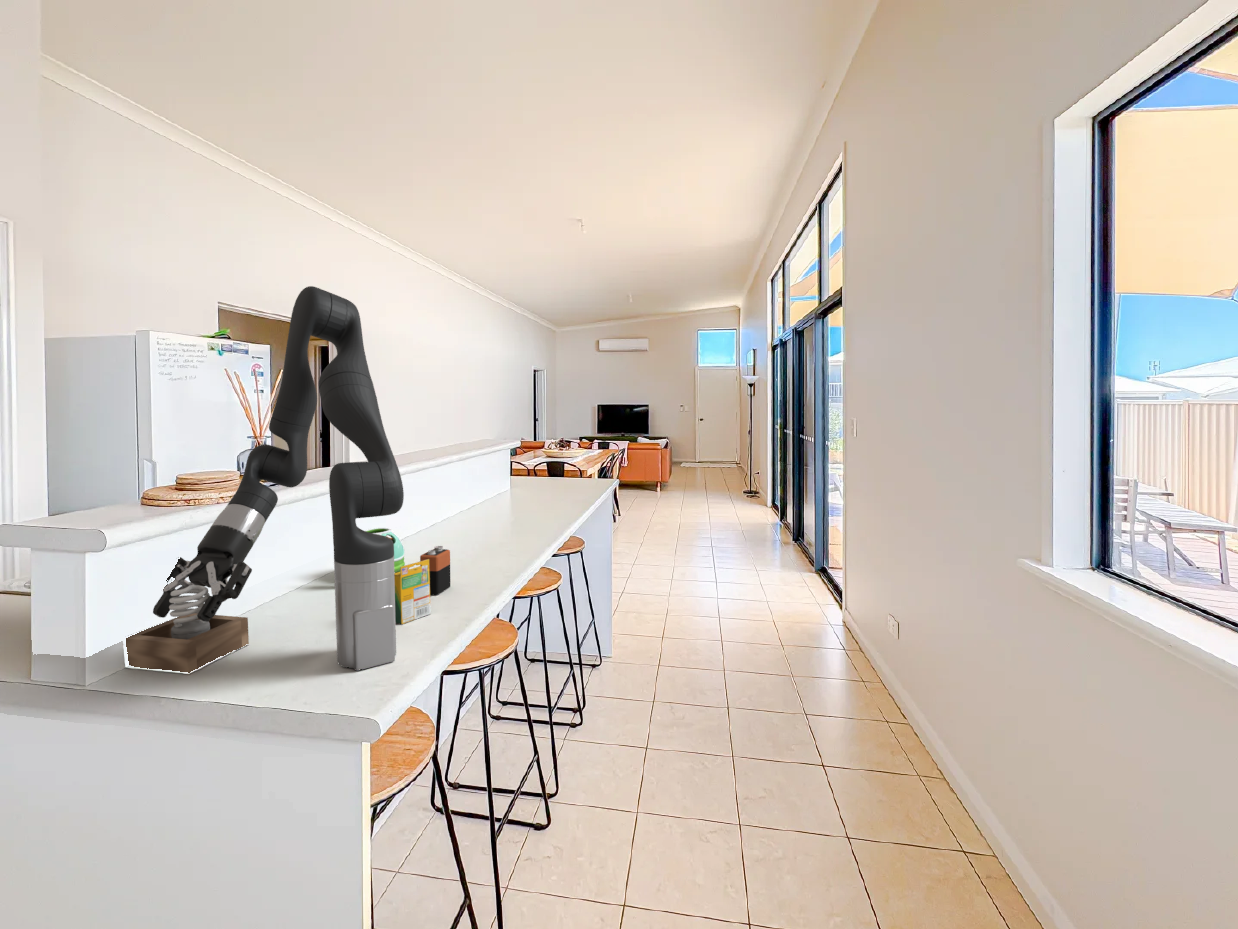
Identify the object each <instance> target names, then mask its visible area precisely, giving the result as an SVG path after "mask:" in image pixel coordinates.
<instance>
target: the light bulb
mask: <svg viewBox="0 0 1238 929" xmlns="http://www.w3.org/2000/svg"><path fill="white" fill-rule="evenodd" d="M185 594H187V595H185ZM188 594H190V595H188ZM191 594H192V595H191ZM177 595H180V596H177ZM171 596H177V597H173V598H171V599H170V600H169V602H170V603H174V604H172V605H170V606H169V609H170V611H169V615H170V617H174V618H176V617H179V616H186V615H190V614H194V613H197V615H198V613H199V611H200V610H201V608H202V606H203V605H204V603H205V601H206V600H207V598H208V597H209V596H211V595H210V593H209V587H207V586H200V585H190V586H188V587H187V588H184V589H181V590H177V589H176V590H174V591H172V592H171ZM194 607H195V608H194ZM197 615H194V616H190V617H186V618H180V619H175V620H174V621H173V622H174V624H175V625H174V626H173V627H172V628H171V636H172V638H175V639H186V640H188V639H190V638H192V637H195V636H197V635H199V634H202V633H204V632H206V631H209V630H210V623H209V621H208V622H206V621H202V620H195V619H198V617H197Z"/></svg>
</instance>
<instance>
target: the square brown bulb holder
mask: <svg viewBox="0 0 1238 929" xmlns="http://www.w3.org/2000/svg"><path fill="white" fill-rule="evenodd" d="M194 615H197V613H194V614H190V615H186V616H179V617H177V618H176V617H174V618H171V619H169V621H168V620H166V621H164V623H163V622H161V623H162V624H161V623H158V624H159V625H158V624H156V626H155V625H153V626H154V627H153V626H150V627H151V628H150V627H147V628H148V629H147V628H145V629H146V630H145V629H143V630H144V631H142V630H140V631H141V632H140V631H138V632H139V633H137V632H136V633H137V634H135V635H132V634H131V635H132V636H130V637H128V638H126V647H127V652H128V653H127V654H128V661H129V665H131V666H134V667H140V668H147V669H148V668H149V669H162V670H172V671H180V672H188V673H190V672H191V671H193V670H195V669H198V668H199V667H201V666H203V665H205V664H206V663H208V662H211V661H213V660H215V659H216V658H218V657H220V656H224V655H226V654H227V653H229V652H232V651H233V650H237V649H239V648H241V647H243V646H245V645H246V644H249V645H250V642H249V640H250V639H249V638H250V636H249V619H248V617H247V616H246V617H245V616H234V615H222V614H221V615H219V614H215V615H214V617H212V618H211V619H210V621H209V623H210V630H209V631H206V632H204V633H202V634H199V635H197V636H195V637H192V638H190V639H188V640H186V639H175V638H172V636H171V628H172V627H173V626H174V625H175V624H174V622H173V621H174V620H175V619H180V618H186V617H190V616H194ZM195 620H201V619H199V618H198V619H195Z"/></svg>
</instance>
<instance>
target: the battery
mask: <svg viewBox="0 0 1238 929" xmlns="http://www.w3.org/2000/svg"><path fill="white" fill-rule="evenodd" d="M427 559H429V575H430V596H438V595H440V594H441V593H443V592H445V591H446V590H448V589H449V588H451V550H449V549H446V548H445V549H444V546H443V545H437V546H436V545H435V546H434V547H433V549H431V550H428V551H427V552H425V553H423V554H421V555H420V556H419V562H420V561H424V560H427ZM419 566H421V565H419ZM444 590H445V591H444Z"/></svg>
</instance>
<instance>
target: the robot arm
mask: <svg viewBox="0 0 1238 929" xmlns="http://www.w3.org/2000/svg"><path fill="white" fill-rule="evenodd" d="M291 312H292V313H291V316H290V321H289V329H288V334H287V335H288V336H287V342H286V348H285V353H284V354H285V356H284V362H283V363H284V364H283V371H282V375H281V376H282V377H281V382H280V386H279V390H278V395H277V398H276V401H275V404H274V408H273V410H272V413H271V416H270V421H269V425H268V429H269V431H270V433H272V434H273V435H275V436H277V437H278V438H280V439H282V440H283V441H285V443H286V444H287V447H288V449H283V448H281V447H277V446H275V445H271V444H265V443H264V444H260V445H257V446H256V447H254V448H252V450H251V451H250V452H249V453H248V457H247V460H246V463H245V466H244V467H245V468H244V471H243V474H242V476H241V477H242V478H241V481H240V483H239V486H238V487H237V490H236V492H235V493H234V494H233V496H232V498H231V499H230V500H229V502H228V503H227V505H226V506H225V508H224V509H223V510H222V511H221V512H220V513H219V514H218V516H217V517H216V519H215V520H214V521H213V523H212V525H211V526H210V527H209V529H208V531H206V533H205V535H204V536H203V538H202V539H201V541H200V542H199V543H198V545H197V548H196V549H197V553H196V556H195V557H194V558H192V560H185V558H183V557H181V556H180V559H178V562H177V564H176V565H175V568H174V569H173V570H172V572H171V574H170V576H169V577H168V578H167V580H168V581H167V580H166V581H167V585H166V586H165V587H164V589H163V591H162V592H163V593H162V595H161V596H160V597H159V599H158V601H156V603H155V605H154V607H153V609H152V614H154V615H155V616H156V617H157V618H163V619H164V618H166V617H167V616H168V614H170V612H171V610H170V609H169V606H170V605H172V604H175V603H170V602H169V600H170V599H171V598H173V597H177V596H181V595H177V596H171V592H172V591H174V590H181V589H184V588H187V587H188V586H190V585H200V586H204V587H206V588H208V589H210V590H211V591H210V592H211V595H210V596H209V597H208V598H207V600H206V601H205V602H204V605H203V606H202V608H201V610H200V611H199V613H198V615H197V617H198V618H199V619H201V620H202V621H206V622H208V621H210V619H211V618H212V617H214V615H217V611H218V610H219V609H220V607H221V606H222V603H224V602H226V601H227V600H229V599H232V600H236V599H237V598H239V596H240V595H241V592H242V591H243V589H244V587H245V585H246V583H247V581H248V579H249V577H250V575H251V574H252V572H253V569H252V568H251V567H250V565H248V564H247V563H245V559H246V558H247V557H248V554H249V553H250V551H252V550H251V549H252V548H253V546H254V545H255V543H256V542H257V540H258V539H259V536H260V535H261V533H262V531H263V529H264V525H265V524H266V522H267V520H268V518H269V517H270V515H271V514H272V513H273V511H274V509H275V508H276V506H277V504H278V500H279V496H278V495H277V493H276V492H275V491H274V490H273V489H271V487H269V486H267V485H265V484H263V483H262V482H261V481H265V482H269V483H271V484H274V485H278V486H281V487H284V488H285V487H286V488H295V487H297V486H299V485H300V484H302V482H303V481H304V479H305V477H306V476H307V473H308V472H307V471H308V442H309V441H308V440H309V432H310V430H311V426H312V423H313V420H314V416H315V412H316V410H317V405H318V393H317V388H316V384H315V381H314V378H313V375H312V374H313V373H312V371H311V370H312V369H311V367H310V362H309V354H308V353H309V352H308V351H309V343H310V339H311V337H315V338H318V339H320V340H324V341H326V342H329V343H331V344H333V346H334V347H335V349H336V353H337V354H336V355H335V357H334V358H333V359H332V360H331V361H330V362H329V363H328V364H327V366H326V367H325V368H324V369H323V371H322V372H321V374H320V376H319V379H318V391H319V397H320V402H321V407H322V411H323V414H324V416H325V417H326V418H327V420H328V422H329V423H330V424H331V425H332V426H334V428H336V430H337V431H339V432H340V433H341V434H342V435H343V436H344V437H346V438H347V439H348V440H350V442H352V443H353V444H354V445H355V446H356V447H357V448H359V450H360V451H361V452H362V454H363V455H364V457H365V458H366V461H354V462H353V461H352V462H349V461H348V462H339V463H336V464H334V465H333V466H332V468H331V470H330V473H329V482H328V490H329V502H330V510H331V521H332V522H331V523H332V542H333V565H334V566H333V568H334V569H333V571H334V572H333V573H334V575H333V576H334V599H335V600H334V602H335V603H334V605H335V606H334V608H335V635H336V636H335V637H336V638H335V639H336V657H337V658H336V659H337V660H336V661H337V664H338V663H339V664H338V665H339V666H341V667H343V666H344V668H347V667H349V668H348V669H354V670H355V669H356V670H355V671H360V670H359V669H362V670H364V669H369V668H373V667H376V666H380V665H381V666H382V665H384V664H388V663H391V662H392V663H393V662H394V661H396V655H397V629H396V628H397V627H396V626H397V625H396V624H397V623H396V621H395V579H394V543H393V541H392V540H391V539H390V538H391V537H389V536H387V537H386V536H382V535H378V534H373V533H369V532H366V531H365V530H363V529H362V528H359V526H357V520H356V519H366V518H373V517H375V518H377V517H385V516H390V515H391V516H392V515H394V514H397V513H399V512H400V511H401V509H402V507H403V505H404V496H405V492H404V486H403V480H402V475H401V472H400V470H399V467H398V463H397V462H396V459H395V456H394V454H393V450H392V448H391V445H390V442H389V440H388V438H387V435H386V432H385V428H384V424H383V419H382V416H381V412H380V407H379V404H378V397H377V393H376V390H375V386H374V382H373V380H372V376H371V374H370V369H369V365H368V361H367V356H366V351H365V347H364V346H365V345H364V340H363V337H364V336H363V331H362V322H361V316H360V312H359V310H358V307H357V306H356V305H355V303H354V302H352V301H351V300H348V299H346V298H344V297H342V296H340V295H337V294H335V293H333V292H330V291H328V290H325V289H322V288H320V287H316V286H313V285H310V286H305V287H304V288H302V290H301V291H300V292H299V293H298V295H297V297H296V299H295V302H294V305H293V308H292V311H291ZM388 537H389V538H388ZM171 577H173V578H175V580H174V581H173V582H171ZM187 578H188V580H186V579H187ZM228 578H229V579H228ZM168 582H169V583H168ZM170 582H171V583H170ZM179 586H180V587H179ZM176 588H177V589H176Z"/></svg>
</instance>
